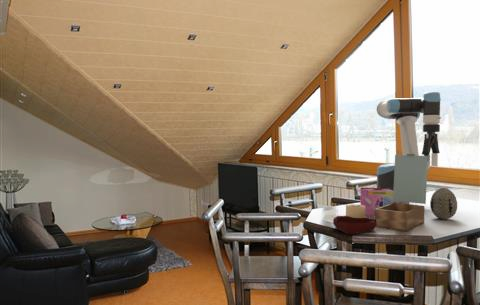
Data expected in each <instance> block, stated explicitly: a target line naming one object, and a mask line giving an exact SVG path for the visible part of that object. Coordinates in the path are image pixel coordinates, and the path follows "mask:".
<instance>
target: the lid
mask: <svg viewBox="0 0 480 305" xmlns="http://www.w3.org/2000/svg"><path fill="white" fill-rule="evenodd" d="M427 162H428V156H424V155H419V156H415V154H407V155H403V154H395V155H394V164H395V169H394V191H393V201H401V202H409V203H413V204H419V205H423V204H424V205H426V203H427V179H428V168H427Z"/></svg>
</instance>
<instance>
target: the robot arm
mask: <svg viewBox="0 0 480 305" xmlns="http://www.w3.org/2000/svg"><path fill="white" fill-rule="evenodd" d="M376 113H377V115H379V117H381V118H384V119H387V120H395V121H396V124H398V125H399V133H400V141H401V152H402V155H407V154H415V156H420V155H419V148H418V146H419V145H418V138H417V136H418V135H417V130H416V123H417V121H418V119H419V118H420V116H421V114H422V115H423V116H422V123H423V125H422V132H423V133H425V134H424V139H423V145H422V152H421V156H428V162H427V169H431V167H439V164H438V161H439V156H438V155H439V154H440V148H439V141H438V133H439V132H440V130H441V127H440V126H441V125H440V122H441V119H442V117H441V116H440V115H441V93H440V92H438V91H429V92H428V91H426V92H424V93H423V97H418V98H417V97H411V98H407V97H406V98H396V97H394V98H389V99H387V100H383V101H380V102H379V103H378V105H377V106H376ZM430 152H431V154H430ZM394 169H395V163H387V164H380V165H379V166H377V170H376V188H394Z"/></svg>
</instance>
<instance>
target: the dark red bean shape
mask: <svg viewBox="0 0 480 305" xmlns="http://www.w3.org/2000/svg"><path fill="white" fill-rule="evenodd" d="M332 223H333V226H334V227H335V228H336V229H338V230H340V232H343V234H346V235H351V236H352V235H358V234H361V233H366V232H367V233H368V232H372V230H373V231H374V230H375V229H376V228H377V227H376V225H377V222H376V219H375V218H372V217H365V218H353V217H350V216H346V215H337V216H335V217H333V222H332ZM357 233H358V234H357Z"/></svg>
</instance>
